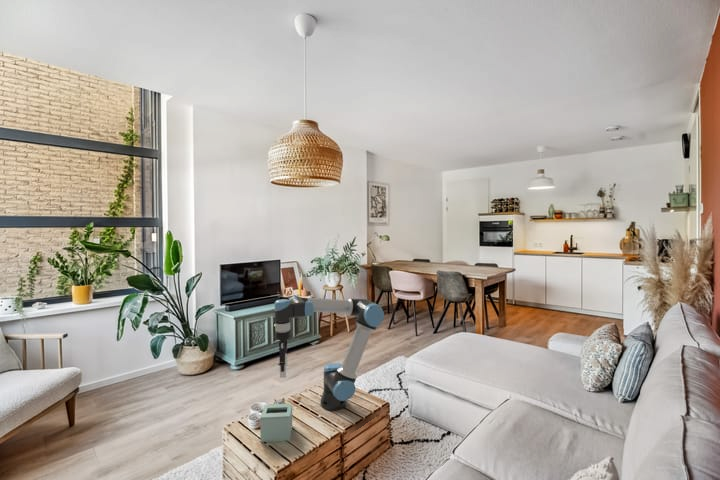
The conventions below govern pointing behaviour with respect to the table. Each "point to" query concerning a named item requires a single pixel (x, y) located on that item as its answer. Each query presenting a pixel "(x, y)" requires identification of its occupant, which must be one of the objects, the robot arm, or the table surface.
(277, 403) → the game die
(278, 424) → the box
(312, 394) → the table surface
